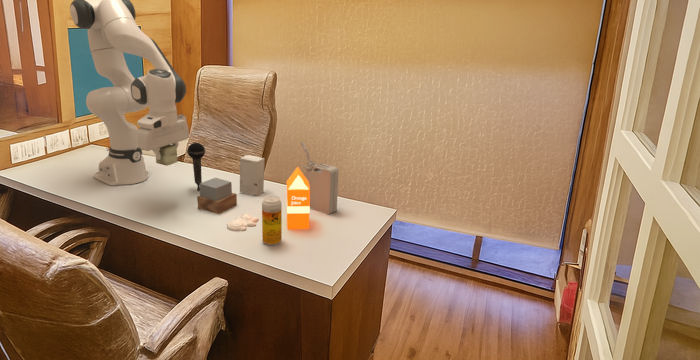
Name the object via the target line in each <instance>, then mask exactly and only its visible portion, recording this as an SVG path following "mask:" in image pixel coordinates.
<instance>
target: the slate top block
mask: <svg viewBox="0 0 700 360" xmlns="http://www.w3.org/2000/svg"><path fill="white" fill-rule="evenodd" d="M199 187H200V191H199V196H201V197H204V198H208V199H211V200H214V201H218V200H220V199H223V198H225V197H227V196H230V195H232V193H233V191H232V190H233V188H232V181H229V180H225V179H221V178H218V177H213V178H210V179H208V180H205V181H203V182H202V183H200V185H199Z"/></svg>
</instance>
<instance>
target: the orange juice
mask: <svg viewBox="0 0 700 360" xmlns="http://www.w3.org/2000/svg"><path fill="white" fill-rule="evenodd" d="M310 209H311V208H310V187H309V182H308V180H307V179H306V177H305V176H304V173H303V172H302V171H301V169H300V167H299V166H297V167H296V168H295V169H294V171H293V172H292V174H291V175H290V176H289V178H288V179H287V180H286V228H287V230H309V229H310Z"/></svg>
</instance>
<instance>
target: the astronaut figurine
mask: <svg viewBox="0 0 700 360" xmlns="http://www.w3.org/2000/svg"><path fill="white" fill-rule="evenodd" d="M257 222H259V217H257V216H251V214H250V213H249V214H248V213H242V214H241V216H238V217H235V219H233V220H231V221H228V222H227V224H226V228H227V230H228V231H231V232H245V231H247V228H248V227H250V228H251V227H256V226H257Z"/></svg>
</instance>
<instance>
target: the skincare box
mask: <svg viewBox="0 0 700 360" xmlns="http://www.w3.org/2000/svg"><path fill="white" fill-rule="evenodd" d="M239 161H240V162H239V193H240V194H246V195H252V196H255V197H258V196H259V195H260V194H262V193H264V186H265V184H264V182H265V157H261V156H256V155H250V154H246V155H244V156H241V157H240V159H239Z"/></svg>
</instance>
